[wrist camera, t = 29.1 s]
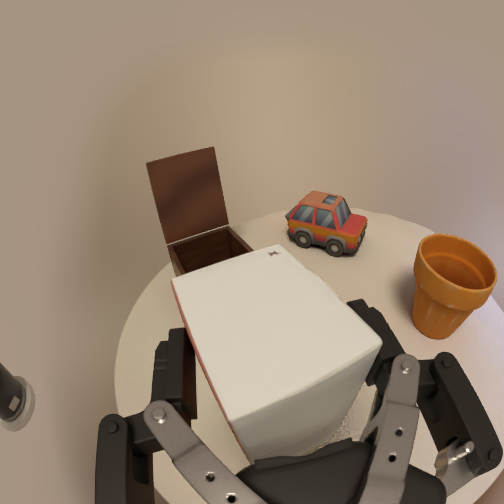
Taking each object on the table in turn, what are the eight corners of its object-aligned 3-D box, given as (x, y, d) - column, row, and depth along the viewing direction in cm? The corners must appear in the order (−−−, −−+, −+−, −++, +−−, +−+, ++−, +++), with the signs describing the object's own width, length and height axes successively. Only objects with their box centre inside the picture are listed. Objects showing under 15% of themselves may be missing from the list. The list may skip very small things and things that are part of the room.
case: (268, 299, 47) (266, 262, 42) (200, 327, 42) (189, 291, 38) (232, 258, 58) (228, 225, 53) (176, 278, 53) (167, 245, 49)
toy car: (354, 263, 53) (361, 219, 47) (282, 242, 61) (281, 201, 55) (366, 237, 60) (372, 198, 55) (303, 221, 69) (303, 184, 63)
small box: (214, 396, 20) (167, 275, 13) (282, 368, 22) (281, 239, 15) (256, 478, 14) (226, 424, 7) (333, 440, 16) (389, 337, 9)
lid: (214, 146, 46) (212, 146, 47) (146, 163, 42) (145, 163, 43) (229, 223, 53) (227, 223, 53) (166, 244, 48) (166, 243, 49)
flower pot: (392, 343, 35) (420, 278, 28) (399, 286, 46) (416, 226, 38) (467, 359, 30) (506, 299, 22) (462, 300, 40) (486, 244, 32)
